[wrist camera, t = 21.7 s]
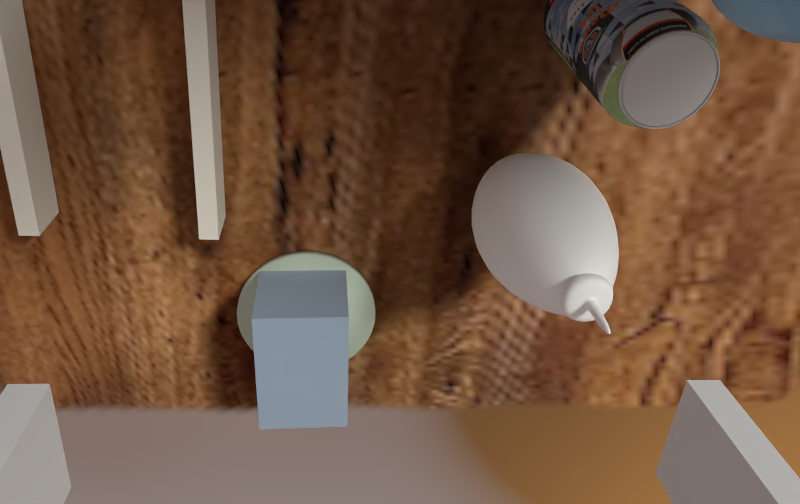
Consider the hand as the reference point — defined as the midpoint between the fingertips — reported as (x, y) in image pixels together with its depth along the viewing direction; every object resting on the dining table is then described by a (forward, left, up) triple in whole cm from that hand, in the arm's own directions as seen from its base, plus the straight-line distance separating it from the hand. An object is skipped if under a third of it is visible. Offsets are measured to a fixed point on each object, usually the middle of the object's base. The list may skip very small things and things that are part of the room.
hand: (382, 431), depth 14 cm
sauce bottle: (+7, +12, -32) cm, 35 cm away
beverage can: (-4, +15, -32) cm, 35 cm away
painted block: (+18, -2, -31) cm, 36 cm away
